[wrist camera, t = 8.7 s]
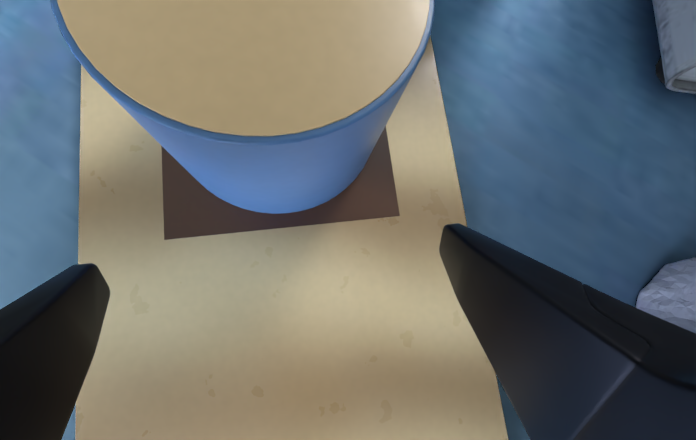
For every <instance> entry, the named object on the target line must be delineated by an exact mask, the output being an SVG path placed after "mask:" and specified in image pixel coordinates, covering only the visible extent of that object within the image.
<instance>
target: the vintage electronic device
mask: <svg viewBox="0 0 696 440" xmlns="http://www.w3.org/2000/svg"><path fill="white" fill-rule="evenodd" d="M652 1H653V7H654V13H655V20H656V26H657V33H658V39H659V46H660V52H661V58H660V59H659V61H658V62H657V64H656V65H655V66H656V75H657V77H658V78H659V80H660V81H661V82H662V83H663V84H665V85H666V88H668V89H670V90H672V91H677V92H684V93H691V94H696V0H652Z"/></svg>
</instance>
